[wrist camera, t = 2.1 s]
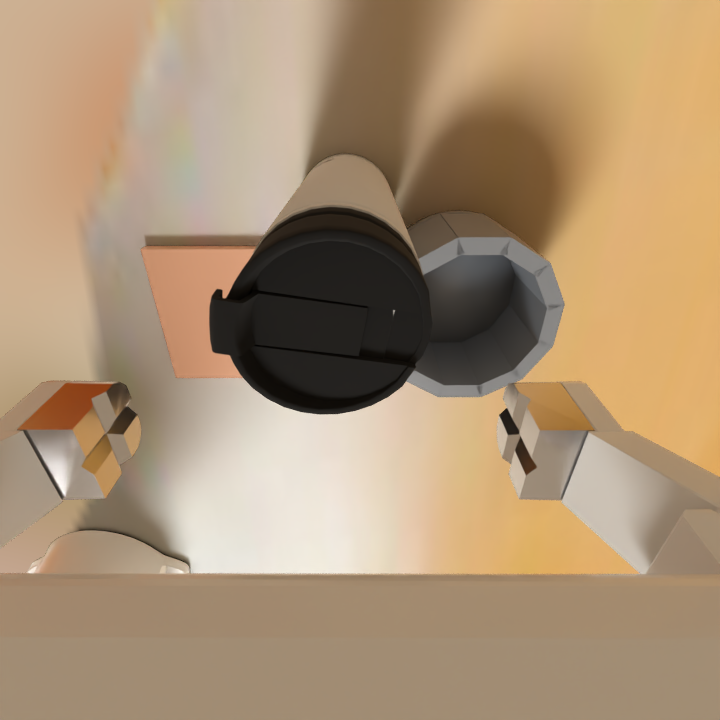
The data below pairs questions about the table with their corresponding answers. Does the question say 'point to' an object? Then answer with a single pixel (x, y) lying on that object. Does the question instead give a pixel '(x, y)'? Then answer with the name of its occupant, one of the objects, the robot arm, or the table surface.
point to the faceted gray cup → (482, 305)
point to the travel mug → (328, 296)
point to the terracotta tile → (193, 302)
